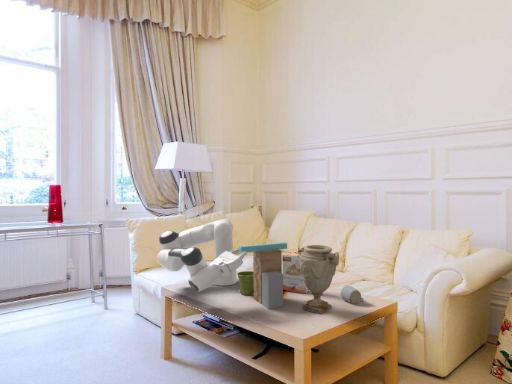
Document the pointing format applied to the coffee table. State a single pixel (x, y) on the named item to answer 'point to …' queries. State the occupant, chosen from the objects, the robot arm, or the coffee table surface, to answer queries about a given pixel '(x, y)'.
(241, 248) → the teal bar
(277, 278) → the grey block
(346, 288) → the ceramic mug
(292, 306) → the coffee table surface
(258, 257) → the walnut tower
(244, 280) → the plant pot
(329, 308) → the urn
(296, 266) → the cracker box
